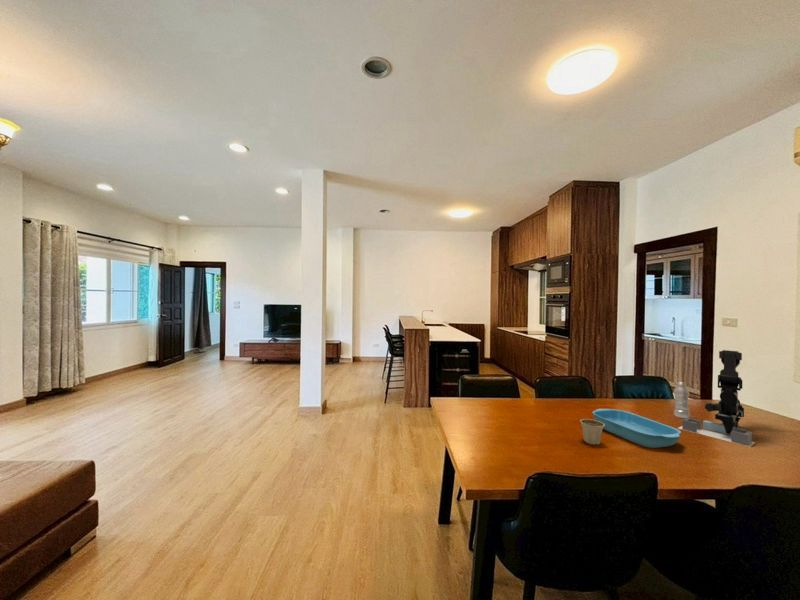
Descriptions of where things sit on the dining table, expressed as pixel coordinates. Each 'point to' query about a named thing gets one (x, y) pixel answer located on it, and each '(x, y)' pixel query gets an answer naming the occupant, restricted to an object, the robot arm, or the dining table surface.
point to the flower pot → (592, 431)
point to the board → (717, 436)
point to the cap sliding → (741, 436)
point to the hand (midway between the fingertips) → (729, 432)
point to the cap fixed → (691, 424)
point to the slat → (716, 427)
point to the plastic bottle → (681, 400)
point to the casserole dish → (637, 428)
